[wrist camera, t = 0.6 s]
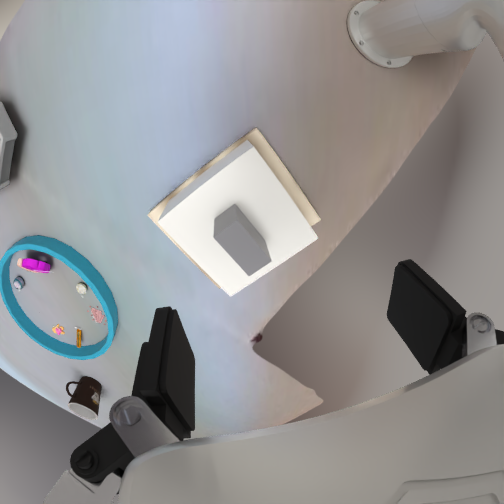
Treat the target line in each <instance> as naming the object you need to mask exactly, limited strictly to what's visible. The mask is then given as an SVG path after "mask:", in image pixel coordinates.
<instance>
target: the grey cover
mask: <svg viewBox="0 0 504 504" xmlns="http://www.w3.org/2000/svg"><path fill="white" fill-rule="evenodd" d="M158 223H159V224H160V226H161V227H162V228H163V229H164V230H165V231H166V232H167V233H168V234H169V235H170V236H171V237H172V238H173V239H174V240H175V241H176V242H177V243H178V244H179V245H180V247H181V248H182V249H183V250H184V251H185V252H186V253H187V254H188V255H189V256H190V257H191V258H192V259H193V260H194V261H195V262H196V263H197V264H198V265H199V266H200V267H201V268H202V269H203V270H204V271H205V272H206V273H207V274H208V275H209V276H210V277H211V278H212V279H213V280H214V281H215V282H216V283H217V284H218V285H219V286H220V287H221V288H222V289H223V290H224V291H225V292H226V293H227V294H228V295H229V296H230V297H231V296H232V295H234V294H235V293H237V292H238V291H240V290H242V289H243V288H245V287H246V286H248V285H249V284H251V283H252V282H254V281H255V280H257V279H258V278H260V277H261V276H263V275H264V274H266V273H267V272H269V271H270V270H272V269H274V268H275V267H277V266H278V265H280V264H281V263H283V262H284V261H286V260H287V259H289V258H290V257H291V256H293V255H294V254H296V253H297V252H299V251H300V250H302V249H303V248H305V247H306V246H308V245H309V244H311V243H312V242H314V241H315V240H317V239H318V237H317V235H316V234H315V232H314V231H313V229H312V228H311V226H310V225H309V223H308V222H307V220H306V219H305V217H304V216H303V215H302V213H301V212H300V210H299V209H298V207H297V206H296V204H295V203H294V201H293V200H292V199H291V197H290V196H289V194H288V193H287V192H286V190H285V189H284V187H283V186H282V184H281V183H280V182H279V180H278V179H277V178H276V176H275V175H274V173H273V172H272V171H271V169H270V168H269V167H268V165H267V164H266V162H265V161H264V160H263V158H262V157H261V156H260V154H259V153H258V152H257V150H256V149H255V148H254V146H253V145H252V144H251V143H250V142H249V141H248V140H246V141H245V142H243V143H242V144H240V145H239V146H238V147H236V148H235V149H234V150H232V151H231V152H230V153H228V154H227V155H226V156H224V157H223V158H222V159H220V160H219V161H218V162H216V163H215V164H214V165H212V166H211V167H210V168H209V169H207V170H206V171H205V172H203V173H202V174H201V175H200V176H198V177H197V178H196V179H195V180H193V181H192V182H191V183H190V184H188V185H187V186H186V187H185V188H184V189H182V190H181V191H180V192H179V193H178V194H176V195H175V196H174V197H173V198H172V199H170V200H169V201H168V203H167V205H166V207H165V209H164V211H163V212H162V214H161V216H160V218H159V220H158Z"/></svg>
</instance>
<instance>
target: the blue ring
mask: <svg viewBox="0 0 504 504" xmlns="http://www.w3.org/2000/svg"><path fill="white" fill-rule="evenodd" d="M28 249H32V250H36V251H41V252H45V253H47V254H49V255H51V256H53V257H55V258H57V259H59V260H61V261H62V262H64V263H65V264H66V265H67V266H69V267H70V268H71V269H72V270H74V271H75V272H76V273H78V275H79V276H80V277H81V278H82V279H83V280H84V281H85V282H86V283H87V284H88V286H89V287H90V288H91V289H92V291H93V292H94V294H95V295H96V297H97V298H98V300H99V301H100V303H101V305H102V307H103V310H104V312H105V315H106V317H107V322H108V330H109V333H108V335H107V336H106V338H105V339H104V340H102V341H101V342H99V343H97V344H95V345H89V346H81V330H82V329H81V330H80V328H79V329H78V328H77V327H74V328H77V346H75V345H70V344H67V343H64V342H60V341H58V340H57V339H55V338H53V337H51V336H49V335H47V334H46V333H45V332H43V331H42V330H41V329H39V328H38V327H37V326H36V325H35V324H34V323H33V322H32V321H31V320H30V319H29V318H28V317H27V316H26V314H25V313H24V312H23V310H22V309H21V307H20V306H19V304H18V302H17V300H16V298H15V296H14V294H13V291H12V287H11V284H10V280H9V266H10V262H11V258H12V256H13V254H14V253H15V252H17V251H19V250H28ZM17 266H19V267H21V268H23V269H25V270H27V271H30V272H31V271H32V272H35V273H49V271H50V265H49V264H47V263H45V262H42V261H38V260H34V259H29V258H26V259H21V258H20V259H18V263H17ZM14 286H15V287H16V288H17V289H19V292H20V289H22V288H23V286H24V281H23V279H22V278H20V277H17V278H15V280H14ZM76 288H77V291H78V292H79V293H81V294H85V293H86V291H87V288H86V285H85V284H82V283H79V284H78V285H77V287H76ZM0 292H1V295H2V299H3V301H4V303H5V305H6V307H7V309H8V311H9V313H10V315H11V316H12V318H13V319H14V320H15V322H16V323H17V324H18V326H19V327H20V328H21V329H22V330H23V331H24V332H25V333H26V334H27V335H28V336H29V337H30V338H31V339H33V340H34V341H35V342H37V343H38V344H39V345H41V346H42V347H44V348H46V349H47V350H49V351H51V352H53V353H55V354H57V355H61V356H64V357H67V358H70V359H79V360H86V359H93V358H96V357H98V356H100V355H102V354H104V353H105V352H106V351H107V349H108V348H109V347H110V346H111V343H112V341H113V338H114V335H115V332H116V328H117V325H118V314H117V306H116V304H115V301H114V298H113V295H112V292H111V290H110V289H109V287H108V286H107V284H106V282H105V281H104V279H103V277H102V276H101V274H100V273H99V272H98V271H97V270H96V269H95V268H94V267H93V265H92V264H91V263H90V262H89V261H88V260H87V259H86V258H85V257H83V256H82V255H81V254H80V253H78V252H77V251H76V250H75V249H73V248H72V247H70V246H68V245H66V244H64V243H62V242H60V241H58V240H57V239H54V238H50V237H45V236H40V235H37V236H29V237H25V238H23V239H21V240H20V241H18V242H16V243H15V244H14V245H13V246H12V247H11V248H10V249H9V250H7V251H6V253H5V255H4V256H3V258H2V259H1V261H0ZM81 294H80V295H81ZM81 296H82V295H81ZM83 298H84V297H83ZM90 308H91V306H90ZM97 308H98V306H97ZM91 311H92V313H93V314H92V315H94V316H93V317H95V322H96V323H97V322H99V323H101V321H102V319H103V318H104V317H103V316H105V315H103V316H102V313H101V312H102V311H100V310H99V311H98V310H96V309H95V308H92V309H91ZM87 312H89V311H87ZM39 313H40V312H39ZM92 315H91V316H92ZM92 320H94V319H92ZM105 322H106V320H105ZM104 325H105V324H104ZM53 326H54V325H53ZM52 330H53V332H54V333H57V334H58V335H60V333H61V334H64V333H65V332H63V331H62V330H64V327H62V326H60V328H59V324H58V325H57V326H54V327H53V328H52Z"/></svg>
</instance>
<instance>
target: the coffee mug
mask: <svg viewBox="0 0 504 504" xmlns="http://www.w3.org/2000/svg"><path fill="white" fill-rule="evenodd" d="M72 383H74V384H78V385H77V387H76V389H75V391H74V393H73V395H71V394H70V392H69V390H68V386H69V385H70V384H72ZM66 391H67V393H68V395H69V396H71V400H70V402H69V404H68V407H69V409H70V410H71V411H72V412H74V413H75V414H77V415H78V416H80V417H83V418H85V419H89V420H96V419H97V418H98V410H99V402H100V394H101V384H100V383H99V382H98V381H97V380H95V379H93V378H91V377H87V376H83V377H82V378H81V379H80V381H79V382H69V383H67V385H66Z"/></svg>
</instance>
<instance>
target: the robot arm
mask: <svg viewBox="0 0 504 504" xmlns="http://www.w3.org/2000/svg"><path fill="white" fill-rule="evenodd" d="M347 27H348V31H349V35H350V37H351V39H352V41H353V43H354V45H355V46H356V48H357V49H358V50H359V51H360V52H361V54H363V55H364V56H365V57H366V58H367V59H369V60H370V61H371V62H373V63H375V64H377V65H379V66H382V67H386V68H397V67H402V66H404V65H406V64H407V63H408V62H409V61H410V60H411V59H412V57H413V56H416V55H423V54H432V53H442V52H454V51H466V50H471V49H474V48H475V47H477V46H478V45H479V44H480V43H481V42H482V40H483V38H484V36H485V35H486V32H488V34H489V35H490V36H491V38H492V40H493V42H494V43H495V45H496V46H497V48H498V50H499V52H500V54H501V56H502V58H503V60H504V0H384V1H382V2H380V1H375V0H366V1H362V2H360V3H358V4H357V5H355V6H354V7H353V8H352V9H351V10H350V12H349V15H348V19H347ZM359 43H360V44H359ZM465 314H466V310H465V309H464V308H462V307H461V305H460V304H459V303H458V302H456V300H455V299H454V298H453V297H452V296H450V295H449V294H448V293H447V292H446V291H445V290H444V289H443V288H442V287H441V286H440V285H439V284H438V283H437V282H436V281H435V280H434V279H432V278H431V277H430V276H429V275H428V274H427V273H426V272H425V271H424V270H423V269H421V268H420V267H419V266H418V265H417V264H416V263H415V262H414V261H412V260H411V259H409V260H405V261H401V262H399V263H398V265H397V266H396V267H395V272H394V279H393V284H392V290H391V295H390V300H389V306H388V311H387V318H388V320H389V321H390V323H391V324H392V326H393V327H394V328H395V330H396V331H397V332H398V334H399V335H400V336H401V338H402V339H403V341H404V342H405V343H406V344H407V346H408V348H409V349H410V351H411V352H412V353H413V355H414V356H415V358H416V359H417V361H418V362H419V363H420V365H421V367H422V368H423V369H424V370H427V371H428V373H429V374H430V375H429V376H426V377H424V378H422V379H420V380H418V381H416V382H413V383H411V384H409V385H407V386H404V387H402V388H400V389H397V390H395V391H392V392H390V393H387V394H385V395H382V396H379V397H377V398H374V399H371V400H369V401H366V402H363V403H360V404H357V405H354V406H351V407H348V408H345V409H342V410H338V411H335V412H332V413H328V414H325V415H321V416H317V417H314V418H310V419H306V420H302V421H298V422H293V423H289V424H284V425H279V426H274V427H269V428H264V429H258V430H253V431H247V432H240V433H234V434H227V435H219V436H211V437H204V438H196V439H190V440H184V441H183V438H191V431H194V430H195V358H194V354H193V352H192V349H191V347H190V344H189V342H188V339H187V336H186V334H185V331H184V329H183V326H182V323H181V321H180V318H179V315H178V313H177V310H176V309H174V310H172V308H171V307H170V306H169V307H163V308H157V309H156V311H155V315H154V320H153V324H152V329H151V333H150V338H149V342H144V343H143V344H142V347H141V351H140V356H139V360H138V365H137V370H136V375H135V380H134V385H133V391H132V396H128V397H123V398H121V399H119V400H118V401H117V402H115V403H114V404H113V406H112V408H111V410H110V413H109V419H110V423H109V424H108V425H106V426H105V427H104V428H103V429H101V430H100V431H99V432H97V433H96V434H95V435H94V436H92V437H91V438H89V439H88V440H87V441H85V442H84V443H83V444H81V445H80V446H79V447H77V448H76V449H75V450H74V452H73V453H72V455H71V459H70V463H71V469H70V471H67V470H65V472H64V473H63V474H62V476H61V477H60V479H59V480H58V481H57V483H56V484H55V486H54V487H53V488H52V490H51V491H50V492H49V494H48V495H47V497H46V498H45V500H44V502H43V504H113V502H112V500H113V498H114V497H115V495H116V494H119V498H118V504H504V332H503V331H500V330H496V329H495V327H494V324H493V321H492V320H491V319H490V318H489V317H488V316H486V315H485V314H482V313H472V314H470V315H469V316H468V317H467V318H466V317H465ZM440 369H441V370H440Z"/></svg>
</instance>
